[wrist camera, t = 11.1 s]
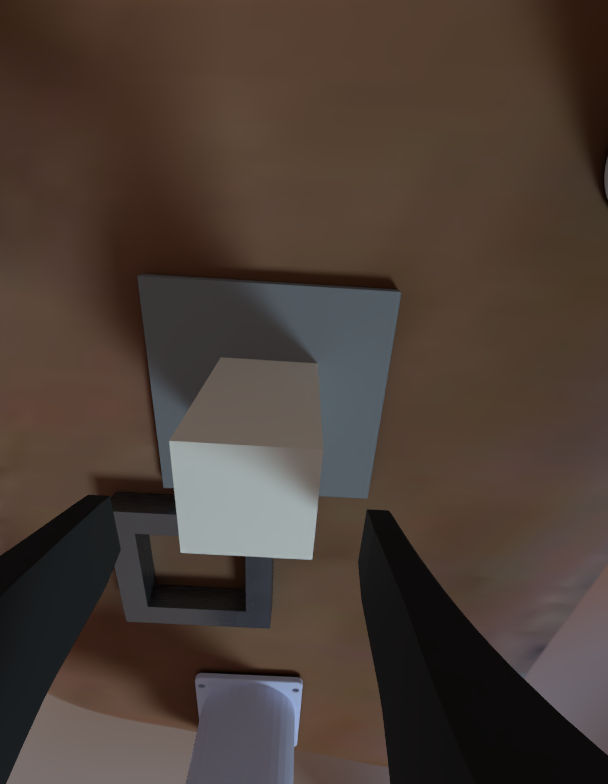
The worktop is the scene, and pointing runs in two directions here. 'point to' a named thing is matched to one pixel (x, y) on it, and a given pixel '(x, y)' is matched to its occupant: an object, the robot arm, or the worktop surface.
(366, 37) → the worktop surface
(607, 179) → the supplement bottle
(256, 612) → the square socket
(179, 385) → the rubber mat
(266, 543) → the square peg block
